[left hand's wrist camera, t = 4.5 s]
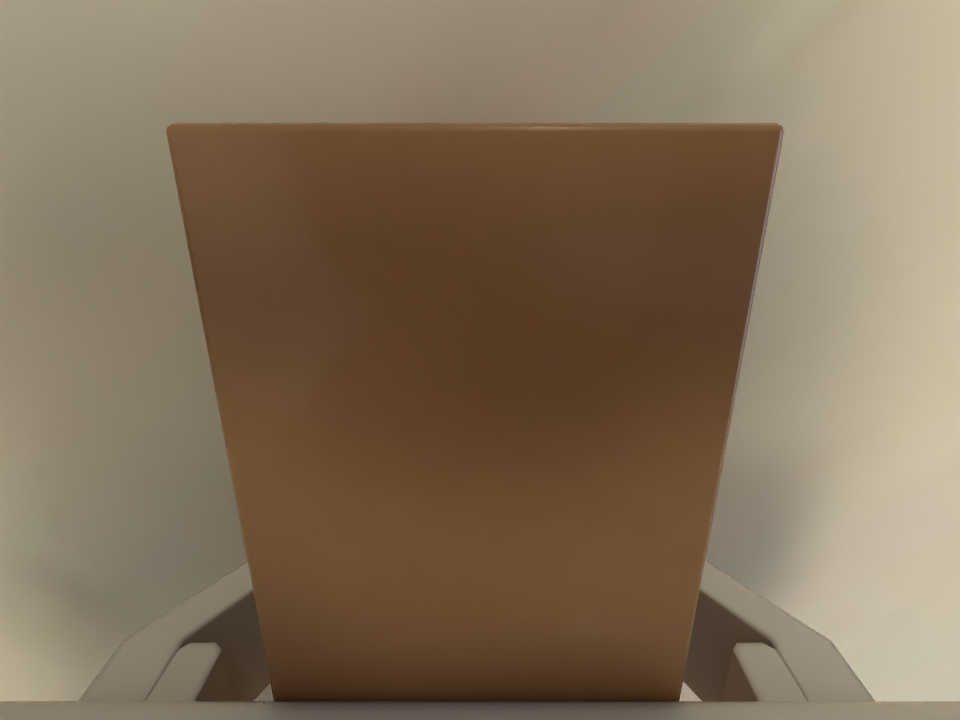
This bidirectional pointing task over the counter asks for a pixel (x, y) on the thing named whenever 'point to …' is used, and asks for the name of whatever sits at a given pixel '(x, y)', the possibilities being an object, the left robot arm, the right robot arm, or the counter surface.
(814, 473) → the counter surface
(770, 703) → the left robot arm
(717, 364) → the post
